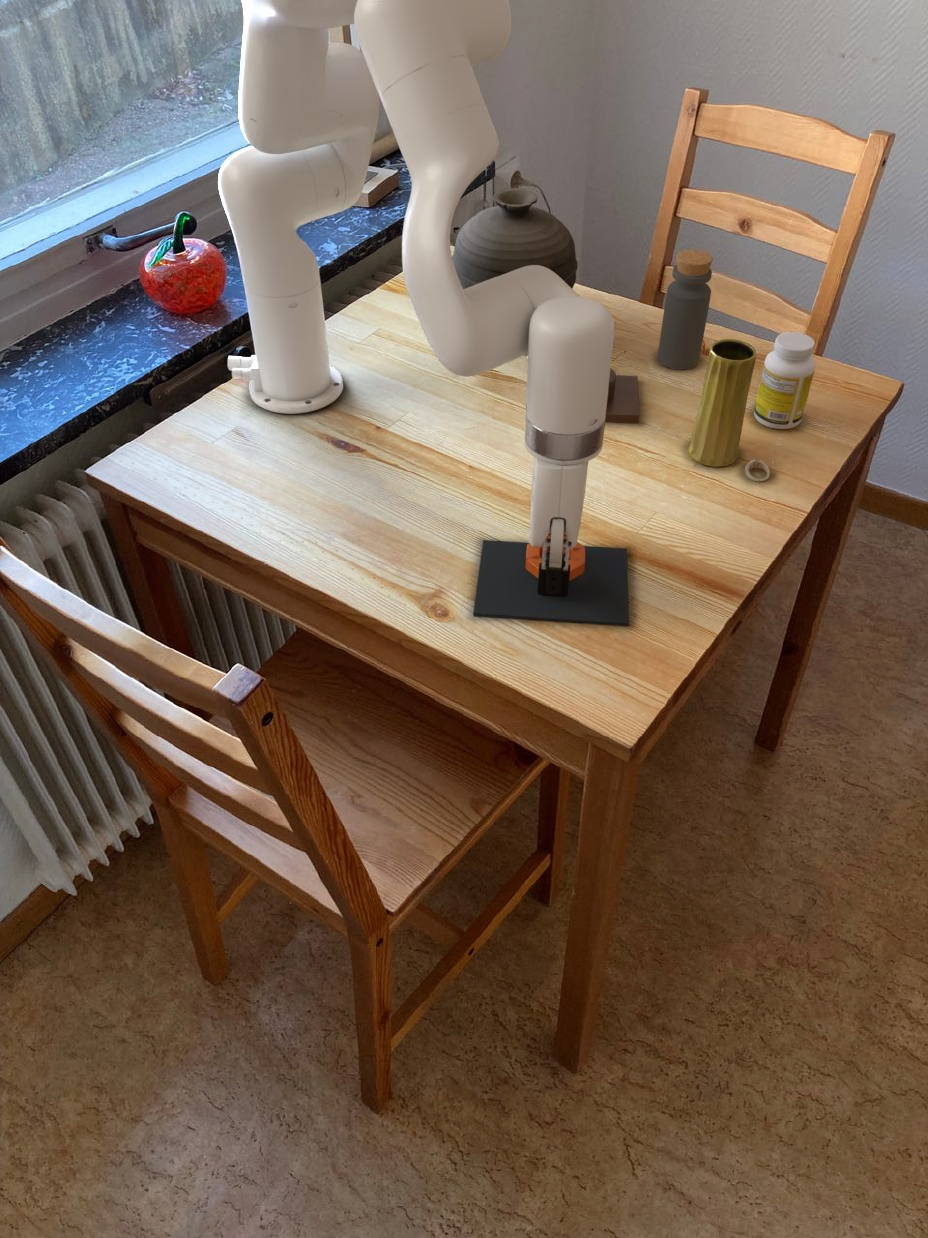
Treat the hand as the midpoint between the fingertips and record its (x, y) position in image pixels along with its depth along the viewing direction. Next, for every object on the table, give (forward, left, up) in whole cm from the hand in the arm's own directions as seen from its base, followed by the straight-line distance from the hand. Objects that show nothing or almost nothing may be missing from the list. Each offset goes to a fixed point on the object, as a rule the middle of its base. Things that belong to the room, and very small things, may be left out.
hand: (553, 571), depth 107 cm
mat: (0, -1, -1) cm, 1 cm away
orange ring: (0, 0, +1) cm, 1 cm away
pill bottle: (+28, +34, -1) cm, 44 cm away
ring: (+24, +21, -1) cm, 32 cm away
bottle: (+16, +48, -1) cm, 51 cm away
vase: (+19, +25, -1) cm, 31 cm away
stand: (+4, +36, -1) cm, 36 cm away
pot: (-8, +55, -1) cm, 56 cm away
